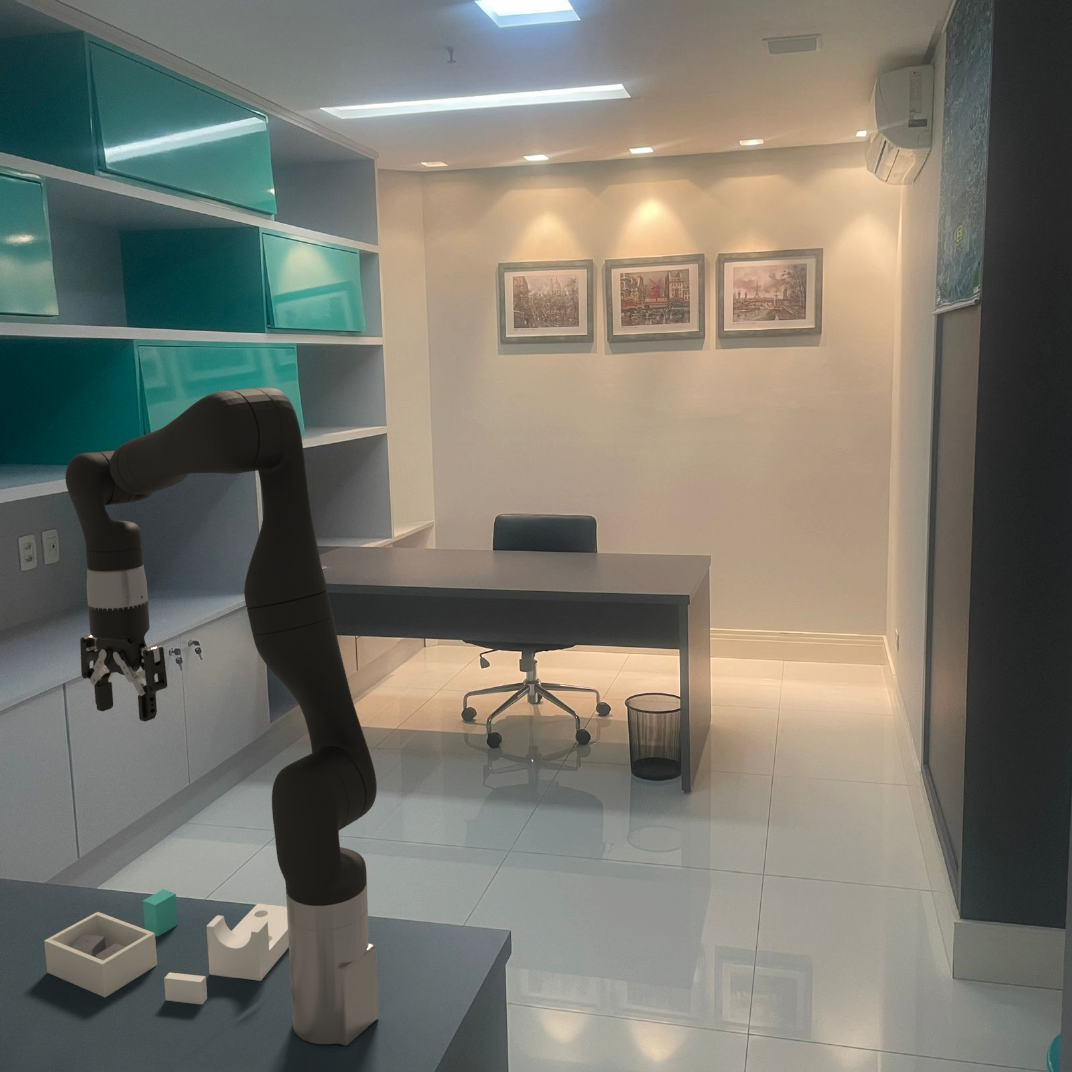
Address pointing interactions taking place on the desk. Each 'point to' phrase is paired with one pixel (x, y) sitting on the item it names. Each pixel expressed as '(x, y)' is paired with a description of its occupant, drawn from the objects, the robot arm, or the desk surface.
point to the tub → (97, 972)
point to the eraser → (185, 988)
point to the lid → (160, 912)
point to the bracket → (248, 943)
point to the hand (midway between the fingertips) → (126, 714)
